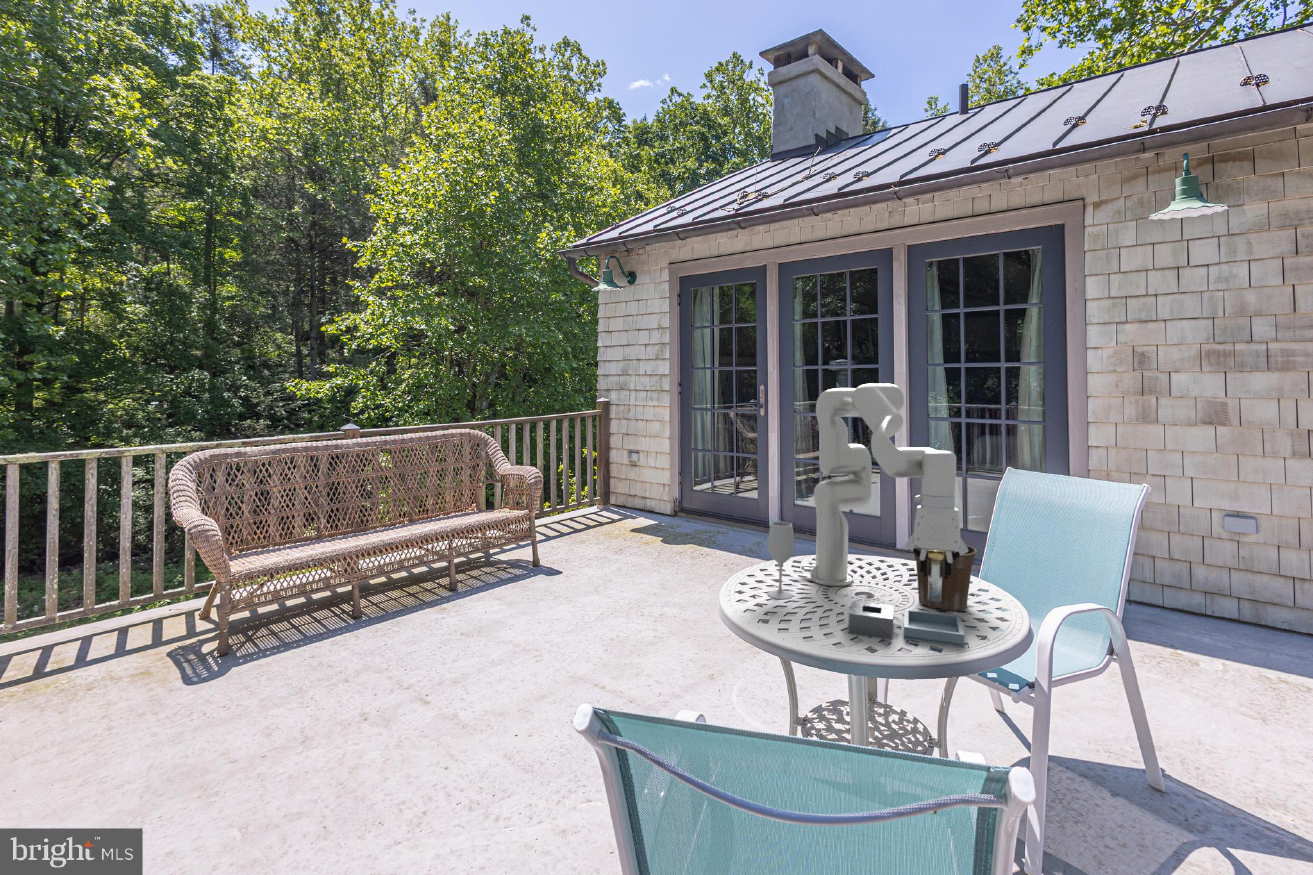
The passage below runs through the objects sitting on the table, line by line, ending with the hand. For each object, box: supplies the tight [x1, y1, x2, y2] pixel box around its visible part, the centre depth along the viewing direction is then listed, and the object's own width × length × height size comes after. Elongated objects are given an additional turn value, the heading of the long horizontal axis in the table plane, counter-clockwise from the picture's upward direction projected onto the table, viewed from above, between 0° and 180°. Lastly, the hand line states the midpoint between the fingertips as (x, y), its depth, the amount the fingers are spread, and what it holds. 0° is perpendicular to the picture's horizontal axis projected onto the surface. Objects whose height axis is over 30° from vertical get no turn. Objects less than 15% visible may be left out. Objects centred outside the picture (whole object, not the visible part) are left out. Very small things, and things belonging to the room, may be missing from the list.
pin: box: [926, 549, 946, 602], centre depth 152 cm, size 4×4×12 cm
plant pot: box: [913, 543, 978, 612], centre depth 173 cm, size 16×16×16 cm
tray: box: [903, 608, 965, 648], centre depth 153 cm, size 13×13×3 cm
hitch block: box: [848, 600, 895, 641], centre depth 155 cm, size 10×10×5 cm
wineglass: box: [767, 520, 796, 600], centre depth 180 cm, size 8×8×21 cm
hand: (935, 575), depth 152 cm, fingers closed on pin, 4 cm apart
